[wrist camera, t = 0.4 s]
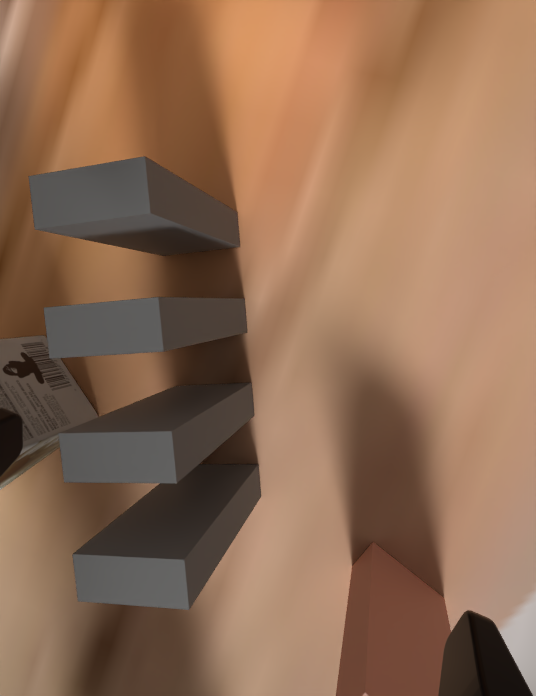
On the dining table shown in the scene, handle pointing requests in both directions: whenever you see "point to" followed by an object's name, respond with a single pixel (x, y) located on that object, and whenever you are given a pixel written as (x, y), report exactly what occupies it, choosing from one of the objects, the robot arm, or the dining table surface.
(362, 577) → the loose domino
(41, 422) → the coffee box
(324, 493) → the dining table surface
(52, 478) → the dining table surface
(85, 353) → the domino
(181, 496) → the domino
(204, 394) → the domino
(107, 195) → the domino
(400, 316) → the dining table surface
